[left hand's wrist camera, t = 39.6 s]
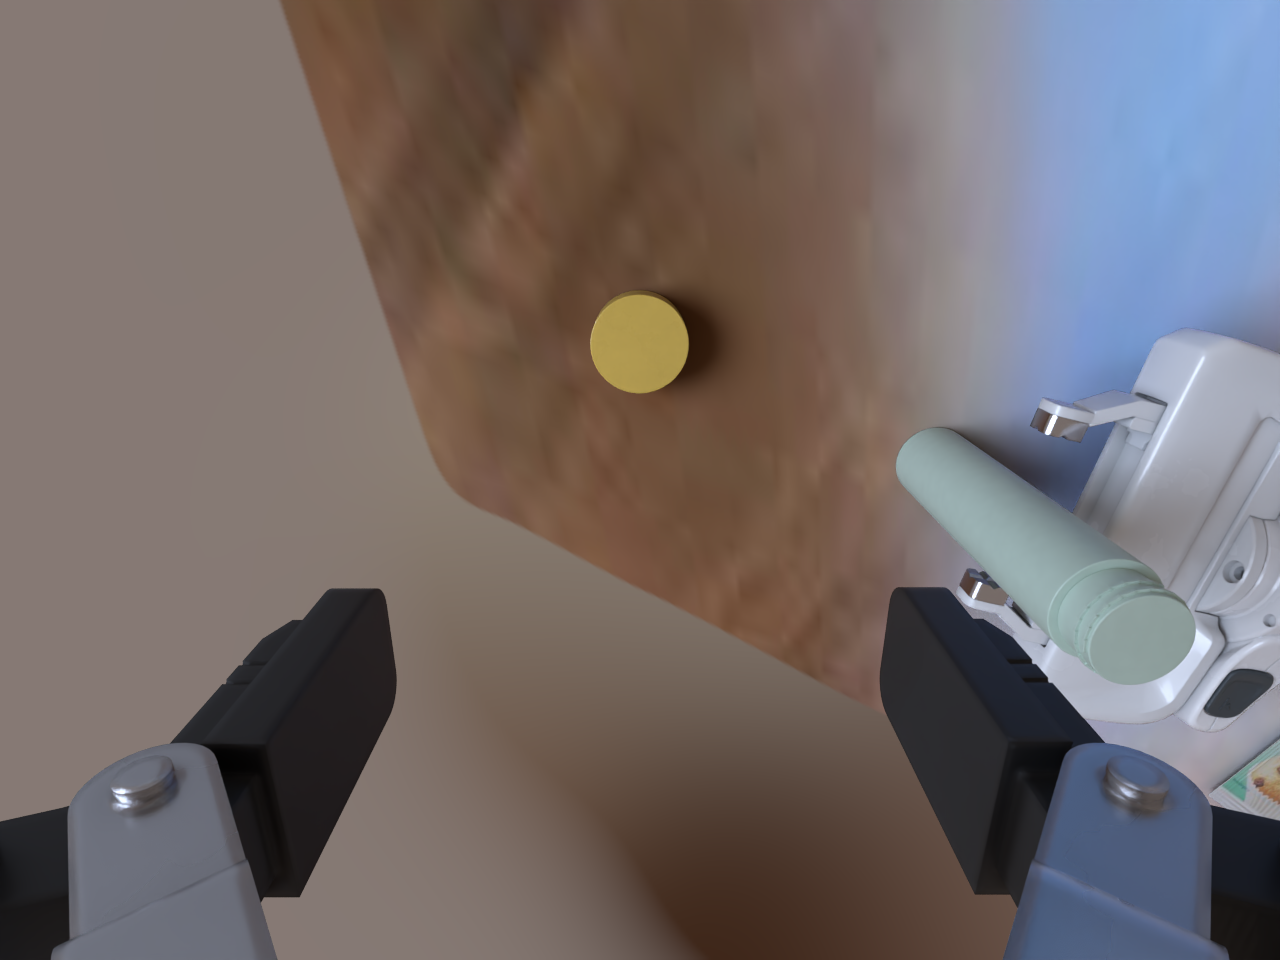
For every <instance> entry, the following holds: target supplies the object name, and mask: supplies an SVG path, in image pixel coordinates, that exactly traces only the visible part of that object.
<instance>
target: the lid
mask: <svg viewBox="0 0 1280 960" xmlns="http://www.w3.org/2000/svg"><path fill="white" fill-rule="evenodd" d="M688 350H689V338H688V333H687V329H686V326H685V323H684V321H683V318H682V316H681V315H680V313H679V311H678V310H677V308H676V307H675V306H674V305H673V304H672V303H671V302H670V301H669V300H668V299H666V298H664V297H663V296H661V295H659V294H657V293H654V292H650V291H645V290H635V291H629V292H625V293H623V294H620V295H618V296H617V297H615V298H613V299H612V300H611V301H609V302H608V303H607V304H606V305H605V306H604V308H603V309H602V310H601V312H600V313H599V315H598V317H597V319H596V322H595V324H594V327H593V330H592V334H591V354H592V358H593V361H594V363H595V366H596V367H597V369H598V371H599V372H600V374H601V375H602V376H603V377H604V378H605V379H606V380H607V381H608V382H609V383H610V384H612V385H613V386H615V387H617V388H619V389H621V390H623V391H627V392H631V393H648V392H653V391H656V390H658V389H661V388H663V387H664V386H666V385H668V384H669V383H670V382H672V381H673V380H674V379H675V378H676V377H677V375H678V374H679V373H680V371H681V370H682V368H683V366H684V364H685V362H686V359H687V356H688Z"/></svg>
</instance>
